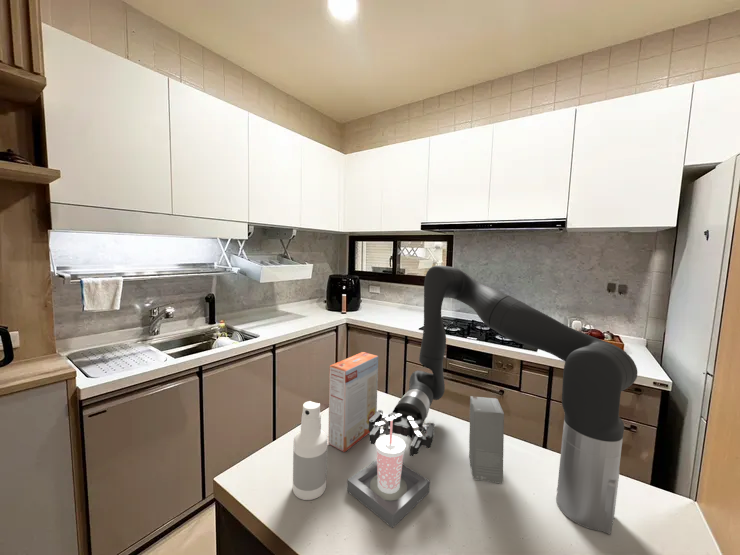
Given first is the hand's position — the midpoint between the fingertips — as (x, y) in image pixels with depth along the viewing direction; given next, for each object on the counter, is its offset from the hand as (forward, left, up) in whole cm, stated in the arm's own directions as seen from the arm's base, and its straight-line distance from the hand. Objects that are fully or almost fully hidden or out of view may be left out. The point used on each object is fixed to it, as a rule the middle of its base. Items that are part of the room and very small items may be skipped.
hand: (391, 446), depth 64 cm
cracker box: (+19, -8, -10) cm, 23 cm away
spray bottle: (+12, +11, -10) cm, 19 cm away
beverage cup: (0, 0, -9) cm, 9 cm away
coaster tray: (0, 0, -10) cm, 10 cm away
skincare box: (-11, -21, -10) cm, 25 cm away
